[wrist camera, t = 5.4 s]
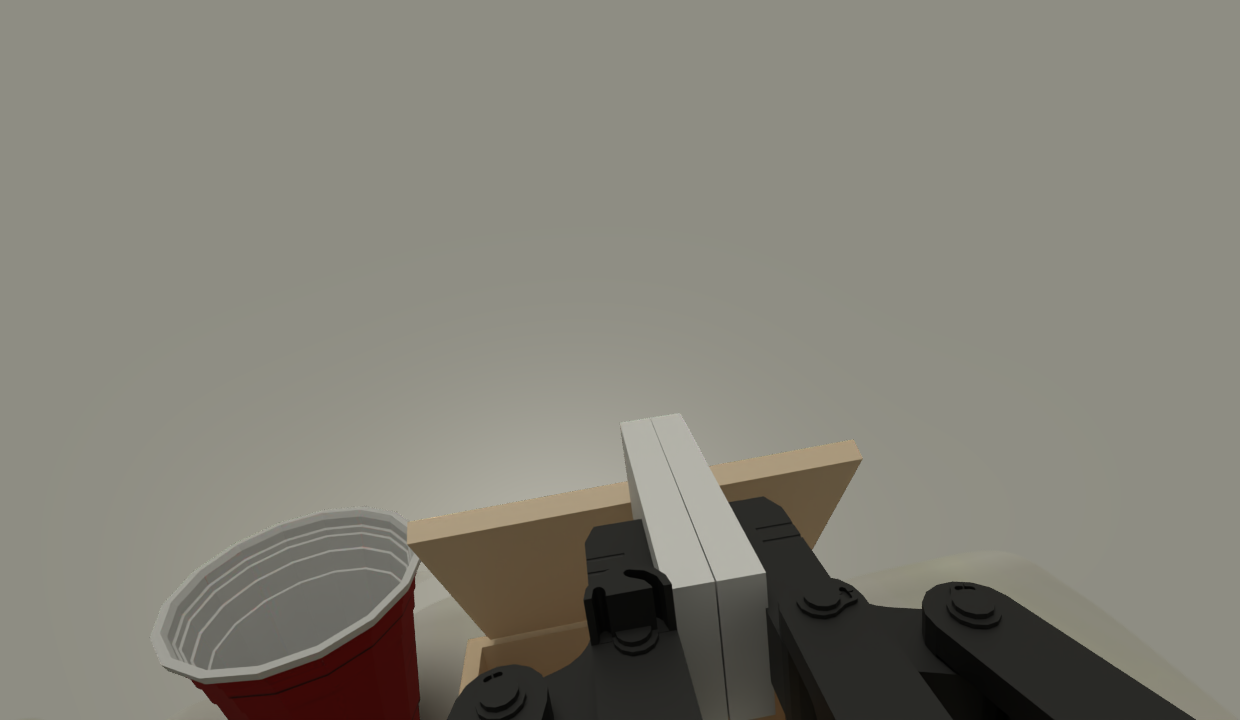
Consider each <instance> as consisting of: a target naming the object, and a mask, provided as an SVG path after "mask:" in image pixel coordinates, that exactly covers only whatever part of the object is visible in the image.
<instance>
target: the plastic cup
mask: <svg viewBox="0 0 1240 720" xmlns="http://www.w3.org/2000/svg"><path fill="white" fill-rule="evenodd" d="M407 522H410V521H408V520H407V519H406V518H405V517H403V516H402V515H400V514H399V513H397V512H395V511H389V510H383V509H377V508H372V507H367V506H361V507H350V508H339V509H327V510H322V511H318V512H315V513H311V514H307V515H304V516H301V517H297V518H293V519H290V520H286V521H283V522H279V523H277V524H275V525H273V526H271V527H268V528H266V529H264V530H262V531H260V532H258V533H255V534H253V535H252V536H249V537H247V538H245V539H243V540H240V541H238V542H236V543H234V544H233V545H231V546H230V547H228V548H227V549H225V550H224V551H222V552H221V553H219V554H218V555H216V556H215V557H214V558H212V559H211V560H209V561H208V562H206V563H205V564H203V565H202V566H200V567H199V568H198V569H196V570H195V571H193V572H192V573H191V574H190V575H189V576H188V577H187V579H186V580H185V581H184V582H183V583H182V584H181V585H180V586H179V587H178V589H176V590H175V592H174V593H173V594H172V595H171V596H170V597H169V598H168V599H167V600H166V601H165V602H164V603H163V604H162V607H161V609H160V612H159V615H158V617H157V620H156V623H155V625H154V628H153V630H152V633H151V635H150V640H151V642H152V645H153V647H154V649H155V652H156V654H157V656H158V659H159V661H160V663H161V665H162V666H163V667H164V668H165V669H167V670H168V671H170V672H172V673H175V674H178V675H181V676H184V677H186V678H188V679H190V680H192V682H193V683H194V685H195V686H196V687H197V688H199V689H202V690H203V691H204V693H205V694H206V695H207V697H208V698H209V699H210V701H211V702H212V703H214V704H217V705H218V707H219V708H220V709H221V711H222V712H223V713H224V715H225V716H226V717H227V719H228V720H420V716H419V706H418V704H419V701H420V693H419V680H418V667H417V654H416V641H415V629H414V616H413V609H414V607H415V603H414V589H415V576H416V572H417V569H418V567H419V565H420V562H421V560H420V559H419V558H418V557H417V555H416V554H415V553H414V552H413V551H412V550H411V548H410V547H409V546H408V545H407Z"/></svg>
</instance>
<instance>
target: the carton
mask: <svg viewBox="0 0 1240 720" xmlns="http://www.w3.org/2000/svg"><path fill="white" fill-rule="evenodd" d="M589 641H590V636H589V630H588V624H587V621H583V622H578V623H573V624H568V625H563V626H558V627H553V628H548V629H543V630H538V631H533V632H528V633H523V634H518V635H513V636H508V637H503V638H498V639H493V640H490V639H489V638H488V637H487V636H484V637H479V638H474V639H469V640H468V643H467V649H466V655H465V661H464V667H463V673H462V679H461V685H460V691H459V695H460V694H461V692H462V691H463V689H464V688H465V686H466V685H468V684H469V683H470V682H471V681H473V680H474V679H475V678H476V677H477V676H479V675H480V674H482V673H484V672H487V671H489V670H491V669H493V668H496V667H499V666H506V665H512V664H516V665H522V666H529V667H531V668H533V669H534V670H536V671H537V672H539V673H540V674H542V676H543V677H545V676H547V675H550V674H552V673H554V672H556V671H558V670H560V669H562V668H564V667H565V666H567V665H569V664H571V663H572V662H573V661H574V660H575V659H576V658H578V657H579V656H580V655H581V654H582V652H583V651H584V650H585V648H586V647H587V646H588V643H589ZM774 695H775V710H776V715H771V716H766V717H761V718H755V719H750V720H785V713H784V711H783V709H782V707H781V704H780V702H779V700H778V697H777V695H776V693H775V690H774ZM728 720H729V717H728Z"/></svg>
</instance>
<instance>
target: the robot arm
mask: <svg viewBox="0 0 1240 720" xmlns="http://www.w3.org/2000/svg"><path fill="white" fill-rule="evenodd" d="M620 429H621V436H622V443H623V450H624V457H625V464H626V472H627V479H628V486H629V493H630V501H631V508H632V515H633V520H631V521H625V522H619V523H613V524H608V525H602V526H596V527H593V529H592V530H591V532H590V534H589V536H588V538H587V540H586V541H585V553H586V562H587V563H586V564H587V574H588V586H587V588H586V590H585V594H584V599H583V601H584V607H585V613H586V618H587V624H588V630H589V636H590V641H589V643H588V646H587V647H586V648H585V650H584V651H583V652H582V654H581V655H580V656H579V657H578V658H576V659H575V660H574V661H573V662H572V663H571V664H569V665H567V666H565V667H564V668H562V669H560V670H558V671H556V672H554V673H552V674H550V675H547V676H545V677H543V676H542V674H540V673H539V672H537V671H536V670H534V669H533V668H531V667H529V666H522V665H516V664H512V665H506V666H499V667H496V668H493V669H491V670H489V671H487V672H484V673H482V674H480V675H479V676H477V677H476V678H475V679H474V680H473V681H471V682H470V683H469V684H468V685H466V686H465V688H464V689H463V691H462V692H461V694H460V695H459V696H458V698H457V699H456V701H455V703H454V705H453V708H452V710H451V712H450V714H449V716H448V719H447V720H728V717H729V720H750V719H755V718H761V717H766V716H771V715H776V710H775V695H774V690H775V693H776V695H777V697H778V700H779V702H780V704H781V707H782V709H783V711H784V713H785V720H1196V719H1194V718H1193V717H1191V716H1190V715H1188V714H1187V713H1185V712H1184V711H1182V710H1180V709H1179V708H1177V707H1176V706H1174V705H1173V704H1171V703H1170V702H1168V701H1167V700H1165V699H1164V698H1162V697H1161V696H1159V695H1158V694H1156V693H1155V692H1153V691H1151V690H1150V689H1148V688H1147V687H1145V686H1144V685H1142V684H1141V683H1139V682H1138V681H1136V680H1135V679H1133V678H1132V677H1130V676H1129V675H1127V674H1126V673H1124V672H1122V671H1121V670H1119V669H1118V668H1116V667H1115V666H1113V665H1112V664H1110V663H1109V662H1107V661H1106V660H1104V659H1103V658H1101V657H1100V656H1098V655H1097V654H1095V653H1093V652H1092V651H1090V650H1089V649H1087V648H1086V647H1084V646H1083V645H1081V644H1080V643H1078V642H1077V641H1075V640H1074V639H1072V638H1071V637H1069V636H1068V635H1066V634H1064V633H1063V632H1061V631H1060V630H1058V629H1057V628H1055V627H1054V626H1052V625H1051V624H1049V623H1048V622H1046V621H1045V620H1043V619H1042V618H1040V617H1039V616H1037V615H1035V614H1034V613H1032V612H1031V611H1029V610H1028V609H1026V608H1025V607H1023V606H1022V605H1020V604H1019V603H1017V602H1016V601H1014V600H1013V599H1011V598H1010V597H1008V596H1006V595H1004V594H1002V593H1000V592H998V591H996V590H994V589H992V588H990V587H986V586H982V585H978V584H975V583H970V582H948V583H944V584H939V585H936V586H935V587H933V588H932V589H930V590H929V591H927V592H926V594H925V596H924V599H923V601H922V609H911V608H892V607H883V606H876V605H872V604H869V603H868V602H867V600H866V599H865V597H864V596H863V595H862V594H861V593H860V592H859V591H858V590H857V589H855V588H854V587H853V586H852V585H849V584H847V583H845V582H843V581H841V580H839V579H833V578H830V576H829V575H828V573H827V572H826V570H825V569H824V567H823V566H822V565H821V563H820V562H819V560H818V559H817V557H816V556H815V554H814V553H813V551H812V550H811V548H810V547H809V546H808V544H807V543H806V541H805V540H804V538H803V537H801V534H800V533H799V531H798V530H797V528H796V527H795V525H793V524H792V521H791V519H790V518H789V517H788V515H787V514H786V512H785V511H784V509H783V508H782V507H781V506H779V505H777V504H776V503H774V502H772V501H771V500H769V499H767V498H766V497H764V496H762V497H756V498H750V499H745V500H739V501H733V502H728V501H727V499H726V497H725V495H724V494H723V492H722V490H721V488H720V486H719V484H718V482H717V480H716V479H715V477H714V475H713V473H712V471H711V469H710V467H709V466H708V464H707V462H706V460H705V458H704V456H703V455H702V453H701V451H700V449H699V447H698V445H697V443H696V441H695V440H694V438H693V436H692V434H691V432H690V430H689V428H688V427H687V425H686V423H685V421H684V419H683V417H682V415H681V413H677V414H671V415H665V416H659V417H652V418H645V419H639V420H633V421H627V422H621V423H620Z"/></svg>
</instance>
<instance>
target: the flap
mask: <svg viewBox="0 0 1240 720" xmlns="http://www.w3.org/2000/svg"><path fill="white" fill-rule="evenodd" d="M862 459H863V458H862V456H861V454H860V452H859V450H858V448H857V445H856V443H855V441H854V439H853V440H847V441H842V442H837V443H831V444H826V445H821V446H815V447H810V448H804V449H799V450H794V451H789V452H783V453H778V454H772V455H767V456H761V457H756V458H750V459H745V460H740V461H734V462H729V463H723V464H718V465H713V466H709V467H710V469H711V471H712V473H713V475H714V477H715V479H716V480H717V482H718V484H719V486H720V488H721V490H722V492H723V494H724V495H725V497H726V499H727V501H728V502H733V501H739V500H745V499H750V498H756V497H762V496H764V497H766V498H767V499H769V500H771V501H772V502H774V503H776V504H777V505H779V506H781V507H782V508H783V509H784V511H785V512H786V514H787V515H788V517H789V518H790V519H791V521H792V524H793V525H795V527H796V528H797V530H798V531H799V533H800V534H801V537H803V538H804V540H805V541H806V543H807V544H808V546H809V547H810V548H811V550H812V549H813V547H814V545H815V544H816V542H817V540H818V538H819V537H820V535H821V533H822V531H823V529H824V528H825V526H826V524H827V522H828V520H829V518H830V517H831V515H832V513H833V511H834V510H835V508H836V506H837V504H838V502H839V501H840V499H841V497H842V495H843V493H844V492H845V490H846V488H847V486H848V484H849V483H850V481H851V479H852V477H853V475H854V474H855V472H856V470H857V468H858V466H859V465H860V463H861V461H862ZM631 520H633V515H632V508H631V501H630V493H629V486H628V481H626V482H621V483H615V484H610V485H605V486H600V487H594V488H589V489H584V490H578V491H572V492H567V493H561V494H556V495H551V496H545V497H540V498H535V499H529V500H524V501H518V502H513V503H507V504H502V505H497V506H491V507H486V508H480V509H475V510H470V511H464V512H459V513H454V514H448V515H443V516H438V517H432V518H427V519H421V520H416V521H410V522H407V545H408V546H409V547H410V548H411V550H412V551H413V552H414V553H415V554H416V555H417V557H418V558H419V559H420V560H421V561H422V562H423V563H424V564H425V566H426V567H427V568H428V569H429V570H430V571H431V573H432V574H433V575H434V576H435V577H436V578H437V579H438V581H439V582H440V583H441V584H442V585H443V586H444V587H445V589H446V590H447V591H448V592H449V593H450V594H451V596H452V597H453V598H454V599H455V600H456V601H457V602H458V604H459V605H460V606H461V607H462V608H463V609H464V610H465V612H466V613H467V614H468V615H469V616H470V617H471V618H472V620H473V621H474V622H475V623H476V624H477V625H478V627H479V628H480V629H481V630H482V631H483V632H484V633H485V635H486V636H487V637H488V638H489V639H490V640H493V639H498V638H503V637H508V636H513V635H518V634H523V633H528V632H533V631H538V630H543V629H548V628H553V627H558V626H563V625H568V624H573V623H578V622H583V621H587V618H586V613H585V607H584V601H583V599H584V594H585V590H586V588H587V586H588V574H587V564H586V563H587V562H586V553H585V541H586V540H587V538H588V536H589V534H590V532H591V530H592V529H593V527H596V526H602V525H608V524H613V523H619V522H625V521H631Z"/></svg>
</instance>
